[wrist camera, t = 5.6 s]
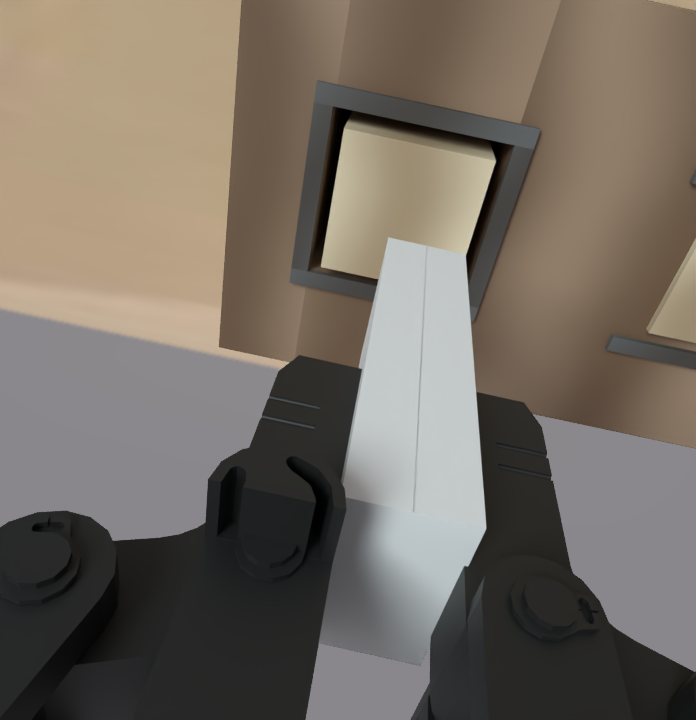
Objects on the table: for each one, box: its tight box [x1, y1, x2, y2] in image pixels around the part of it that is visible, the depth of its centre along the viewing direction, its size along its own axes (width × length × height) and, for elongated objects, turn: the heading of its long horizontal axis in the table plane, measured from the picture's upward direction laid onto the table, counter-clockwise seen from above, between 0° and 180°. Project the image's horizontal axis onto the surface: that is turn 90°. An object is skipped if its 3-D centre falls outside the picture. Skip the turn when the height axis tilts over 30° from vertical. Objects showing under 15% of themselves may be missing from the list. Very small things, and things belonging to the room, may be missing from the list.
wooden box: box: [219, 0, 696, 448], centre depth 21 cm, size 20×12×9 cm, turn 80°
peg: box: [321, 111, 496, 279], centre depth 20 cm, size 4×4×8 cm
